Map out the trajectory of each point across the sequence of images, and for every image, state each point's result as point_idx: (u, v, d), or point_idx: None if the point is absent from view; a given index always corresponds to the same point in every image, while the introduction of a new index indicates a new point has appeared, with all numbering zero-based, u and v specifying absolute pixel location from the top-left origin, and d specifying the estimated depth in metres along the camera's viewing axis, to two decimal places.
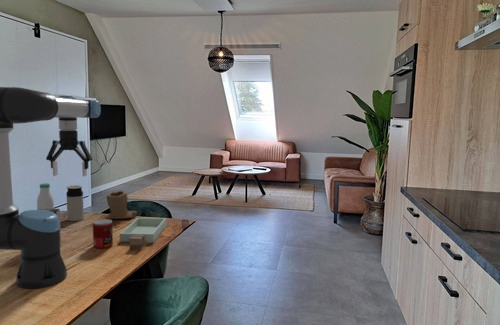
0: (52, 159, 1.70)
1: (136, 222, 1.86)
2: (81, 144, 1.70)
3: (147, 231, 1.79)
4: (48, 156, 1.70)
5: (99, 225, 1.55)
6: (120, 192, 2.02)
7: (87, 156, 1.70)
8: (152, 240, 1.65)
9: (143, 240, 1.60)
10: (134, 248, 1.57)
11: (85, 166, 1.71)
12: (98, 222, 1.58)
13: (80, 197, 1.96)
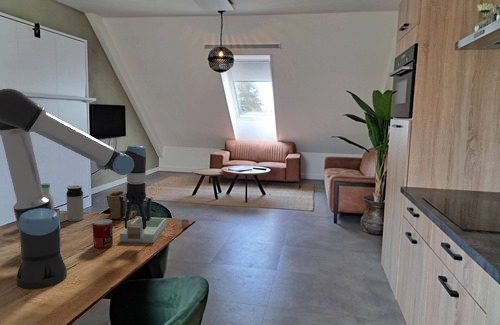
0: (126, 218, 1.56)
1: (136, 222, 1.86)
2: (148, 201, 1.55)
3: (147, 231, 1.79)
4: (121, 215, 1.56)
5: (99, 225, 1.55)
6: (120, 192, 2.02)
7: (148, 215, 1.56)
8: (152, 240, 1.65)
9: None
10: (132, 237, 1.56)
11: (143, 226, 1.57)
12: (98, 222, 1.58)
13: (80, 197, 1.96)
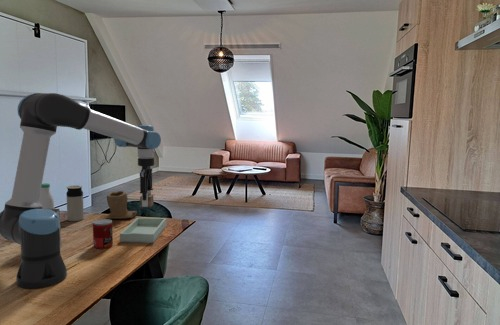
0: None
1: (136, 222, 1.86)
2: None
3: (147, 231, 1.79)
4: None
5: (99, 225, 1.55)
6: (120, 192, 2.02)
7: None
8: (152, 240, 1.65)
9: None
10: None
11: (142, 197, 1.76)
12: (98, 222, 1.58)
13: (80, 197, 1.96)
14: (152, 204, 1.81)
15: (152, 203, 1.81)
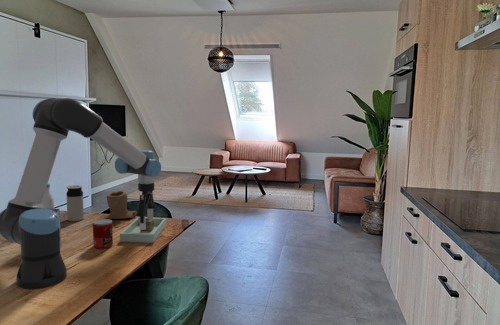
0: (148, 206, 1.87)
1: (136, 222, 1.86)
2: None
3: None
4: None
5: (99, 225, 1.55)
6: (120, 192, 2.02)
7: None
8: (152, 240, 1.65)
9: (147, 225, 1.79)
10: None
11: None
12: (98, 222, 1.58)
13: (80, 197, 1.96)
14: (152, 228, 1.82)
15: (152, 227, 1.82)
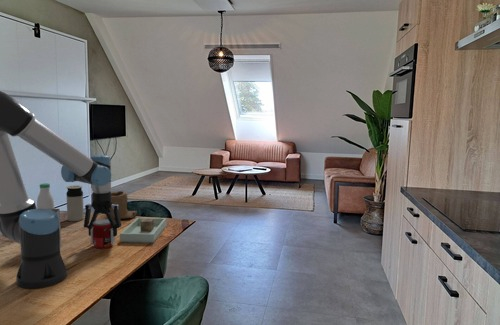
0: (90, 226, 1.58)
1: (136, 222, 1.86)
2: (115, 209, 1.57)
3: None
4: (85, 223, 1.58)
5: (99, 225, 1.55)
6: (120, 192, 2.02)
7: (117, 223, 1.58)
8: (152, 240, 1.65)
9: (147, 225, 1.79)
10: None
11: (114, 233, 1.59)
12: (98, 222, 1.58)
13: (80, 197, 1.96)
14: (152, 228, 1.82)
15: (152, 227, 1.82)
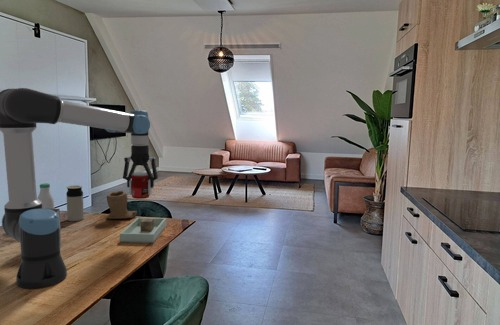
0: (128, 178, 1.67)
1: (136, 222, 1.86)
2: (152, 161, 1.67)
3: None
4: (124, 175, 1.67)
5: (138, 176, 1.65)
6: (120, 192, 2.02)
7: (154, 174, 1.67)
8: (152, 240, 1.65)
9: (147, 225, 1.79)
10: None
11: (151, 185, 1.68)
12: (136, 174, 1.68)
13: (80, 197, 1.96)
14: (152, 228, 1.82)
15: (152, 227, 1.82)
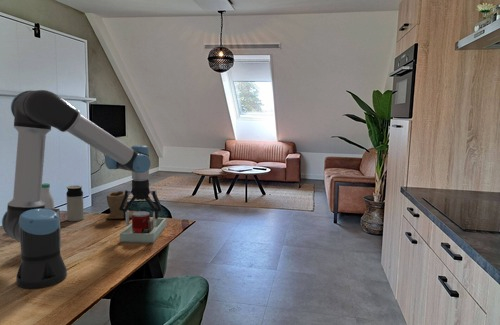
0: (125, 209, 1.69)
1: None
2: (153, 194, 1.68)
3: None
4: (121, 206, 1.69)
5: (138, 216, 1.67)
6: (120, 192, 2.02)
7: (158, 206, 1.69)
8: (152, 240, 1.65)
9: None
10: None
11: (155, 216, 1.70)
12: (137, 214, 1.70)
13: (80, 197, 1.96)
14: (152, 228, 1.82)
15: (152, 227, 1.82)
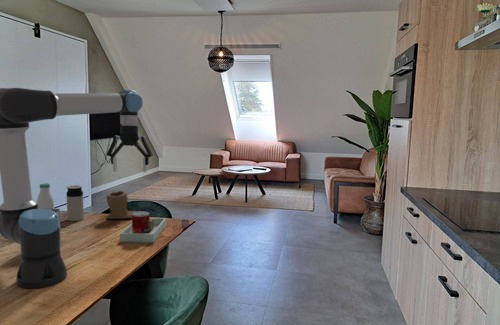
0: (112, 155, 1.67)
1: None
2: (142, 139, 1.66)
3: None
4: (108, 152, 1.67)
5: (138, 216, 1.67)
6: (120, 192, 2.02)
7: (148, 152, 1.67)
8: (152, 240, 1.65)
9: None
10: None
11: (146, 162, 1.68)
12: (137, 214, 1.70)
13: (80, 197, 1.96)
14: (152, 228, 1.82)
15: (152, 227, 1.82)
